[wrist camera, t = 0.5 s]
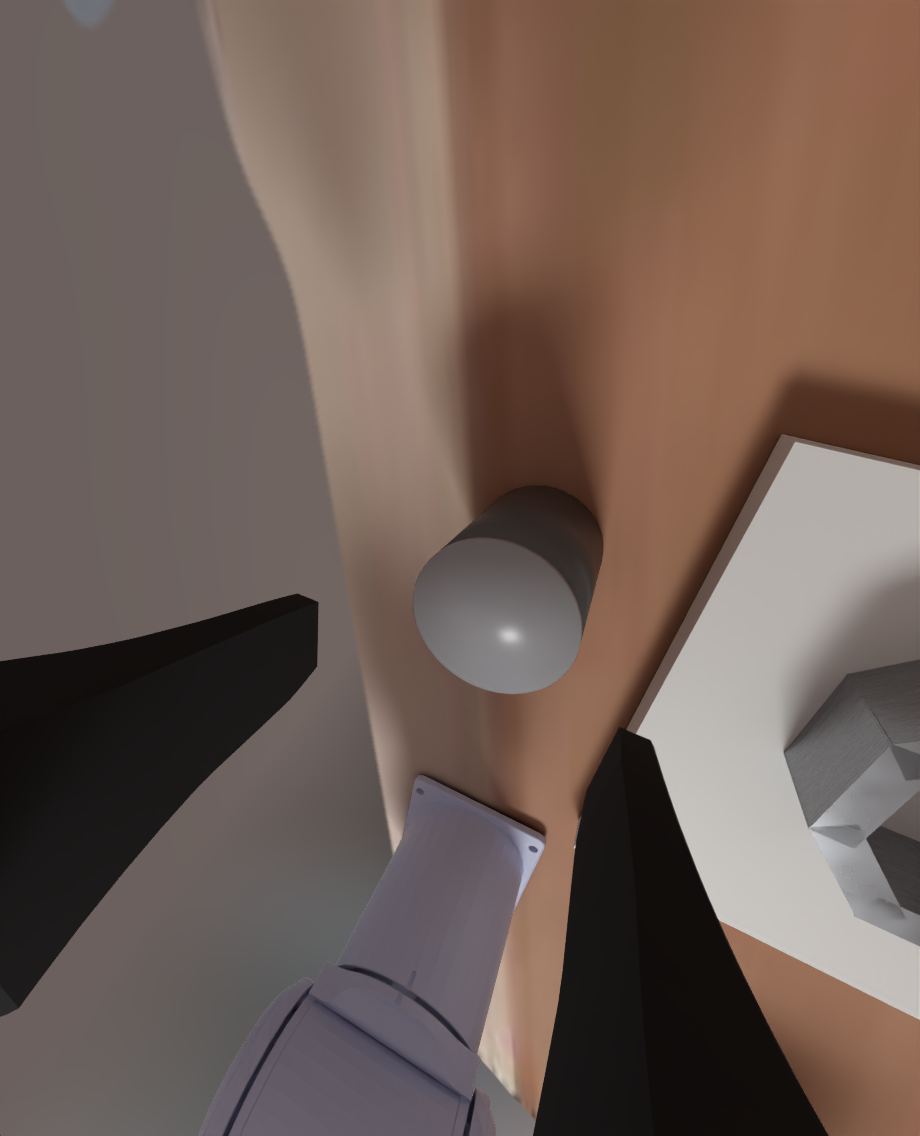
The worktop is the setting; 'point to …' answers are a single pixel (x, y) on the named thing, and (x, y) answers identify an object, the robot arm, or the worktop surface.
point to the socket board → (806, 718)
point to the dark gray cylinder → (512, 591)
